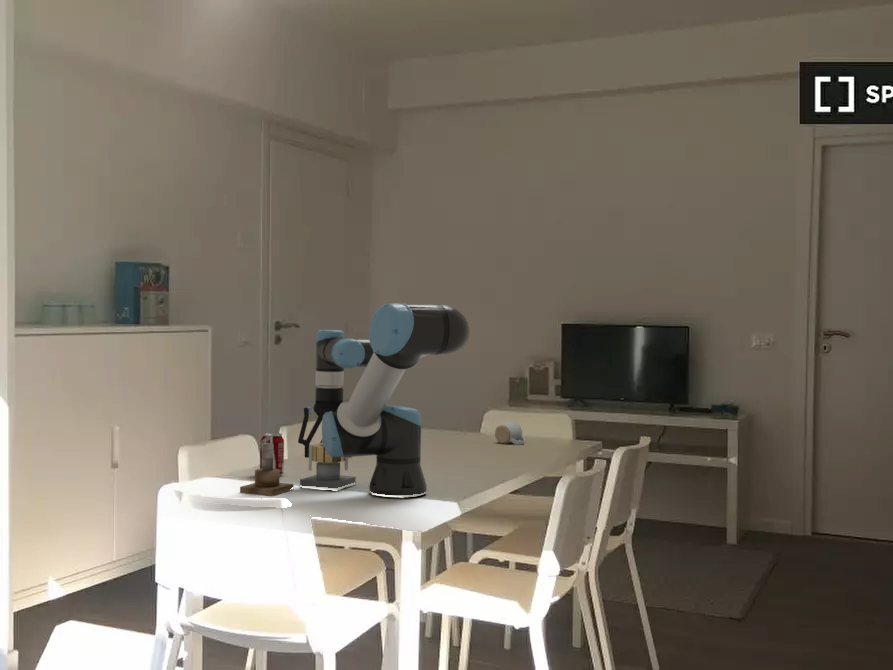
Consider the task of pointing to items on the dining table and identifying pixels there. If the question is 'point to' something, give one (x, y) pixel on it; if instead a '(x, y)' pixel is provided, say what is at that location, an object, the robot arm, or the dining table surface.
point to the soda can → (274, 450)
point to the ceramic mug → (509, 433)
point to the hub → (327, 476)
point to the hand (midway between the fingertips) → (328, 469)
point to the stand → (266, 476)
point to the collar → (323, 455)
